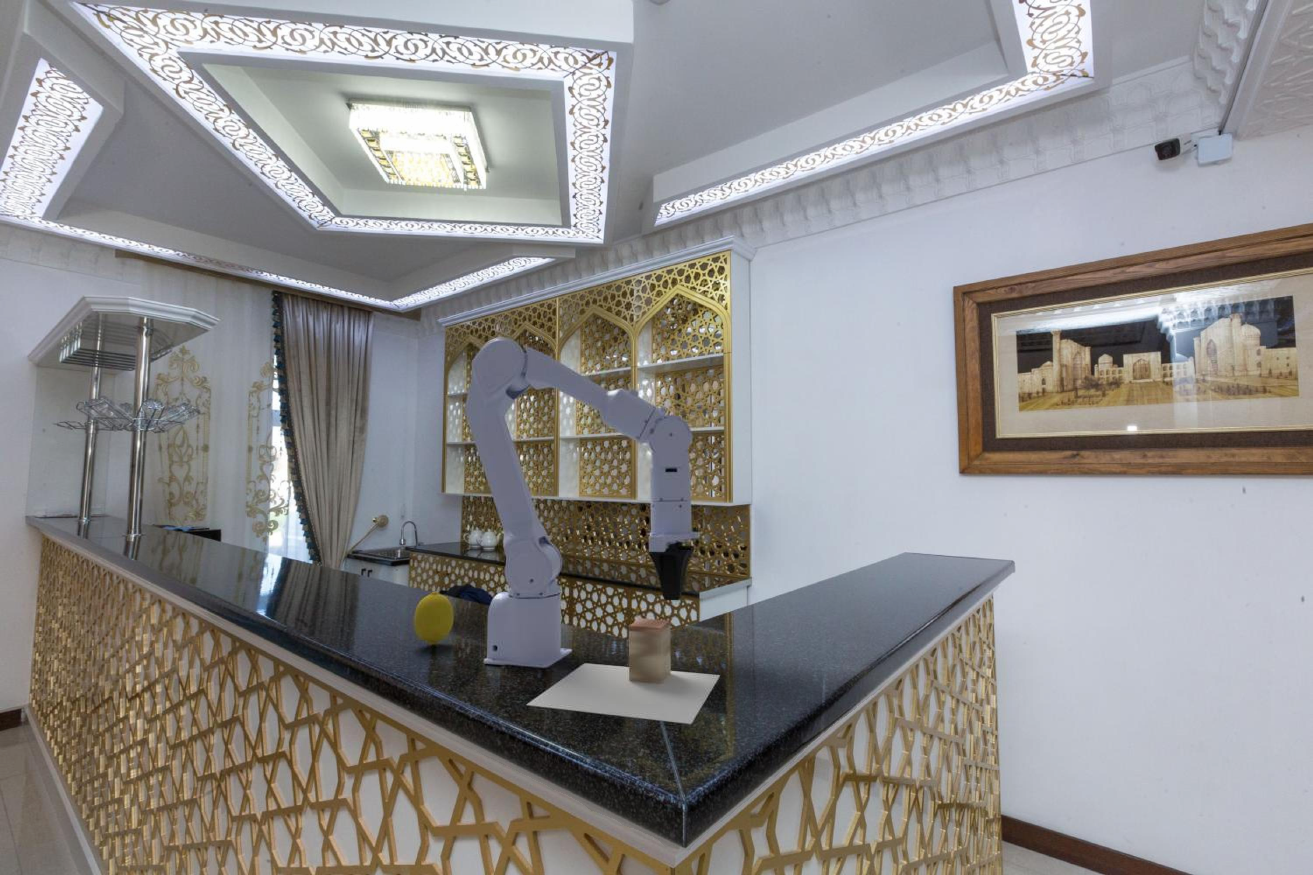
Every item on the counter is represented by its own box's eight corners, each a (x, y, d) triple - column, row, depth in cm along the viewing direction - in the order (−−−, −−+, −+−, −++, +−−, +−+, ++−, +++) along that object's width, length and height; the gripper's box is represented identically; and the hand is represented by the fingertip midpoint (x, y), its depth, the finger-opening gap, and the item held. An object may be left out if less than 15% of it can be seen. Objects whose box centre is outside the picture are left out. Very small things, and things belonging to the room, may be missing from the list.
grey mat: (526, 708, 61) (526, 704, 61) (584, 666, 75) (584, 663, 75) (691, 727, 55) (691, 723, 55) (720, 678, 70) (720, 675, 70)
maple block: (629, 680, 68) (628, 625, 68) (640, 670, 72) (639, 618, 72) (661, 684, 67) (660, 627, 67) (670, 673, 70) (670, 620, 71)
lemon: (449, 639, 89) (450, 587, 90) (455, 647, 84) (456, 592, 85) (411, 644, 86) (412, 590, 87) (415, 653, 82) (416, 596, 82)
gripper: (685, 501, 72) (687, 611, 71) (709, 499, 86) (711, 591, 85) (633, 502, 75) (634, 608, 73) (664, 499, 88) (665, 589, 87)
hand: (672, 599), depth 79 cm, fingers closed
